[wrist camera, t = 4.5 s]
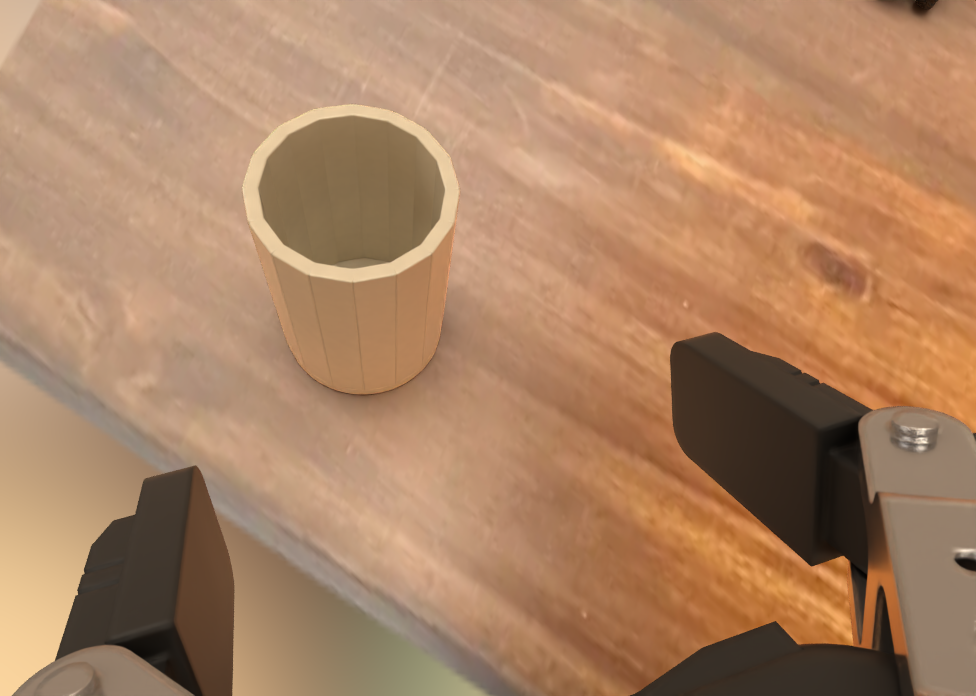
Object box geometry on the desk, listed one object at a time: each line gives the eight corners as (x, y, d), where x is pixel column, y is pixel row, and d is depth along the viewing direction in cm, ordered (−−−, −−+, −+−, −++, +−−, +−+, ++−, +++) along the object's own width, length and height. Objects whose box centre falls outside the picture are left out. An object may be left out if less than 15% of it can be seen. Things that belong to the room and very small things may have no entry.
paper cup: (269, 381, 25) (217, 260, 18) (305, 245, 27) (273, 88, 20) (428, 406, 25) (441, 297, 18) (451, 270, 27) (471, 124, 20)
